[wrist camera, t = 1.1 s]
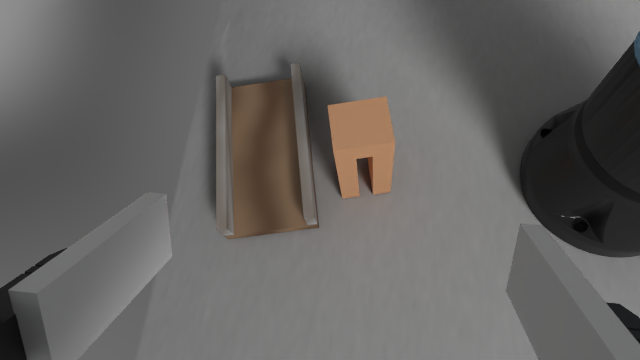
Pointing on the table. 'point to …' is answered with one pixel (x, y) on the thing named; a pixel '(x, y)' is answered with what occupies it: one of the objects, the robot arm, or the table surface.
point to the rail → (263, 158)
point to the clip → (362, 143)
